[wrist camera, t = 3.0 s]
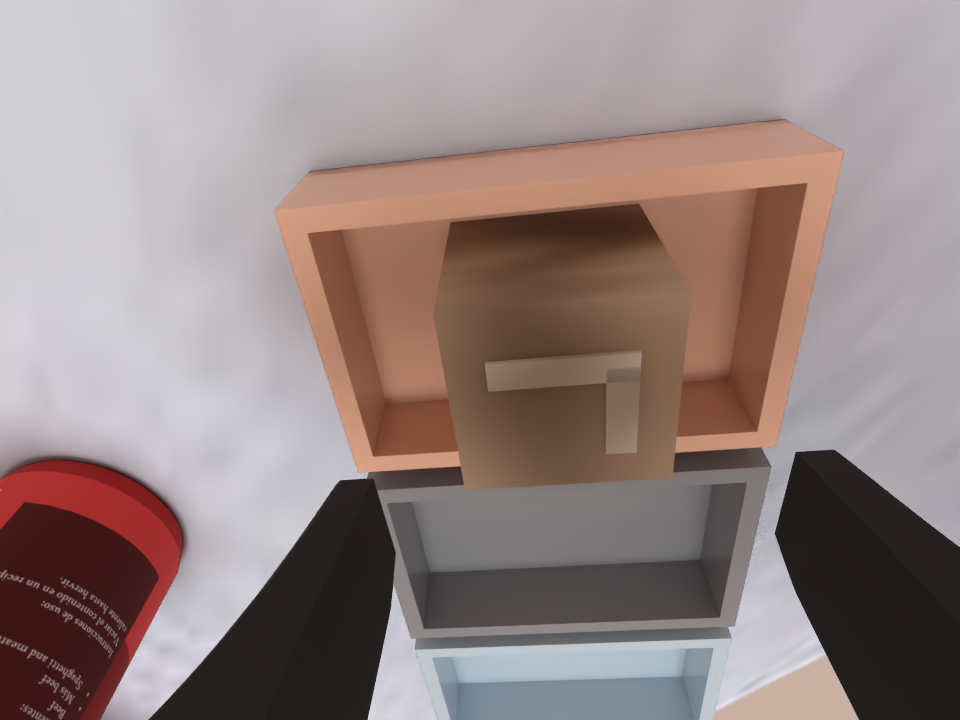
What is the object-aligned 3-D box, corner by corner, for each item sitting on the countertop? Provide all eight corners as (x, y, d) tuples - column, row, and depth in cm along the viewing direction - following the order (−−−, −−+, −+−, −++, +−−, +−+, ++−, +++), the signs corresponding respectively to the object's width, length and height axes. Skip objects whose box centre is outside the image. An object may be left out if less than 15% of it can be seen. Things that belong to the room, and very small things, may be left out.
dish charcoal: (736, 402, 19) (771, 466, 17) (710, 557, 24) (734, 626, 21) (380, 427, 20) (363, 491, 18) (419, 571, 25) (411, 638, 22)
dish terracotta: (784, 119, 14) (844, 150, 12) (739, 383, 19) (775, 446, 16) (309, 171, 15) (273, 210, 13) (375, 410, 20) (357, 472, 18)
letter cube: (638, 203, 15) (692, 294, 11) (632, 360, 18) (673, 480, 14) (450, 222, 16) (432, 316, 11) (472, 372, 18) (464, 493, 14)
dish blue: (708, 570, 24) (731, 638, 22) (690, 672, 29) (708, 738, 26) (422, 583, 25) (414, 649, 23) (449, 680, 30) (445, 744, 27)
